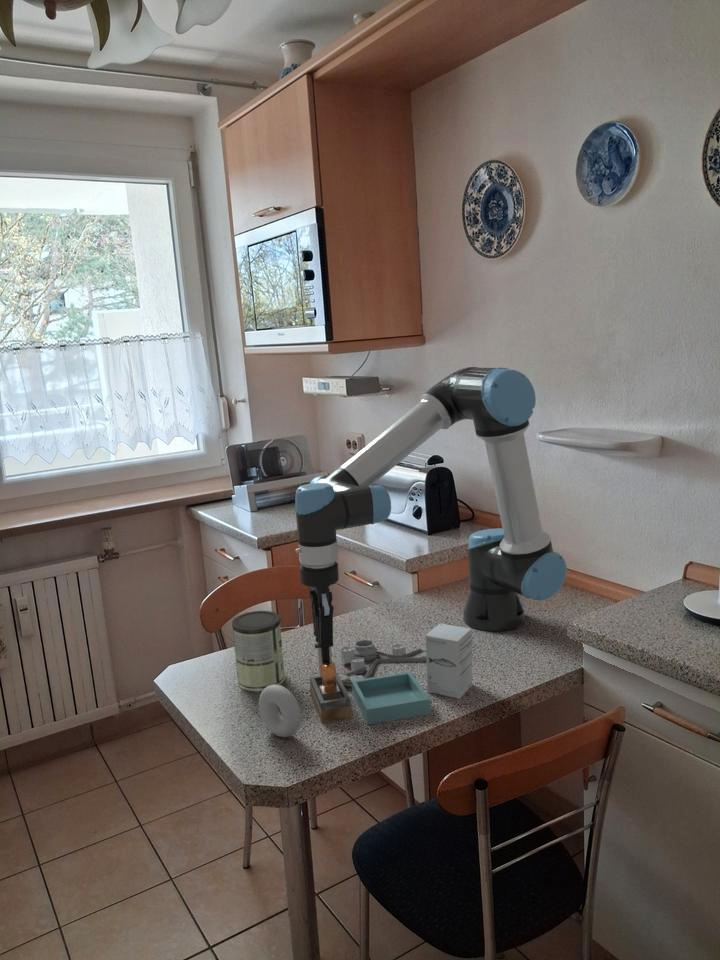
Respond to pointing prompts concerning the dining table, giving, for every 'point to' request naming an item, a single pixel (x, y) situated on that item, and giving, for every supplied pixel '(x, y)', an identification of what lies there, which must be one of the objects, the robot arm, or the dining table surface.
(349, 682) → the pulley system
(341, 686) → the base
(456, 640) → the supplement box
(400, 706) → the tray
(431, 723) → the dining table surface
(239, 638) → the coffee can
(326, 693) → the copper rounded cylinder
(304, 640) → the dining table surface
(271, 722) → the donut
